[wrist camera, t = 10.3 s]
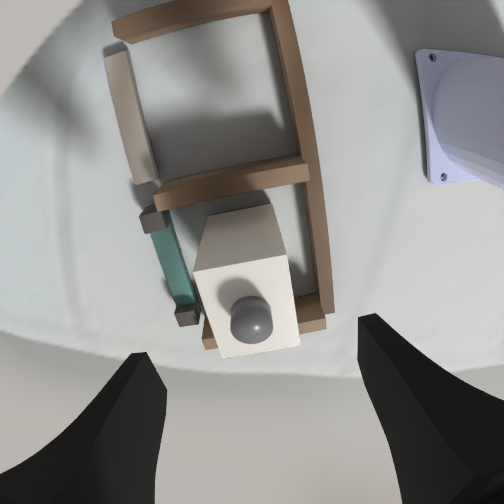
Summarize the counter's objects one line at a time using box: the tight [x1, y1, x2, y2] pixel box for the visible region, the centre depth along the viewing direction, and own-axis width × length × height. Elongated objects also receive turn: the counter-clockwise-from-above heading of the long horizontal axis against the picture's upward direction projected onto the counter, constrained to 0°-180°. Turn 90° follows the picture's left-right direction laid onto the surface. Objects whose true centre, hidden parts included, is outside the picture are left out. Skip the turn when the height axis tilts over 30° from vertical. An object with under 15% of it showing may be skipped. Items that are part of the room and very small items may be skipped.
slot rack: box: [104, 0, 335, 350], centre depth 15 cm, size 9×18×2 cm, turn 11°
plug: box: [193, 204, 300, 358], centre depth 15 cm, size 4×4×7 cm
